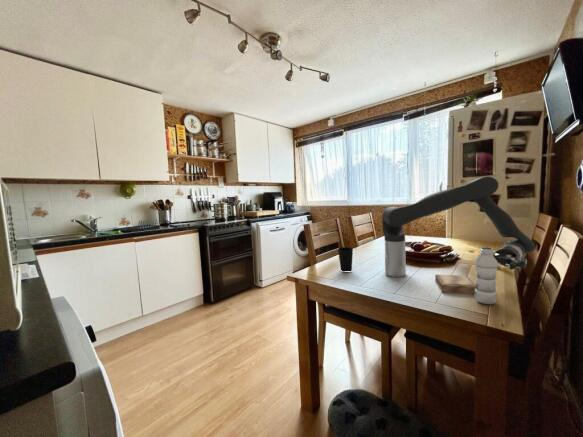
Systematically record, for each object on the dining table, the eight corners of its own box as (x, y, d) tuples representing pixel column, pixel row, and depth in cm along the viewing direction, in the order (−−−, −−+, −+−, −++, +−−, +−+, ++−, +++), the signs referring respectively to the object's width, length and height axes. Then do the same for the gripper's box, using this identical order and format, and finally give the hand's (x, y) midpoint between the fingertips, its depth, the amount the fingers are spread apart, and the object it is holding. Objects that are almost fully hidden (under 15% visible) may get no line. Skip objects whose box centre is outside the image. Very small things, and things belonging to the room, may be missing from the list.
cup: (354, 273, 129) (353, 250, 127) (338, 273, 131) (337, 251, 129) (353, 268, 136) (352, 247, 135) (339, 268, 138) (338, 247, 136)
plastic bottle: (469, 299, 94) (470, 247, 91) (486, 297, 94) (487, 245, 92) (483, 307, 87) (485, 251, 85) (501, 305, 88) (503, 249, 85)
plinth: (442, 292, 101) (442, 284, 101) (435, 281, 112) (435, 274, 112) (477, 294, 97) (477, 286, 97) (466, 282, 109) (466, 275, 108)
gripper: (487, 243, 111) (474, 252, 101) (532, 248, 99) (521, 258, 90) (487, 260, 112) (474, 270, 102) (531, 267, 100) (520, 278, 91)
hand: (496, 264), depth 96 cm, fingers open, 8 cm apart
